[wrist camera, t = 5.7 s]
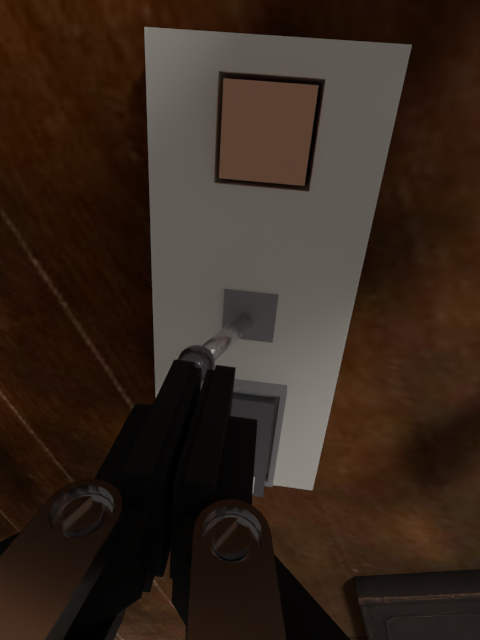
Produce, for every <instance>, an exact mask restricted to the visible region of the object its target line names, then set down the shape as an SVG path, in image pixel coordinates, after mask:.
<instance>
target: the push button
mask: <svg viewBox="0 0 480 640" xmlns="http://www.w3.org/2000/svg"><path fill="white" fill-rule="evenodd" d="M318 87H319V85H308V84H295V83H281V82H268V81H254V80H241V79H227V78H223V99H222V121H221V143H220V165H219V178H222V179H233V180H245V181H256V182H267V183H278V184H289V185H300V186H305V179H306V172H307V165H308V158H309V151H310V144H311V137H312V129H313V122H314V115H315V108H316V101H317V94H318Z"/></svg>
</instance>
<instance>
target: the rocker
mask: <svg viewBox="0 0 480 640" xmlns="http://www.w3.org/2000/svg"><path fill="white" fill-rule="evenodd" d="M274 406H275V398H274V397H266V396H258V395H250V394H242V393H234V392H233V397H232V406H231V415H230V416H235V417H243V418H250V419H257V436H256V450H255V464H254V478H253V492H252V496H258V497H263V493H264V485H265V477H266V469H267V462H268V454H269V446H270V438H271V430H272V422H273V414H274Z"/></svg>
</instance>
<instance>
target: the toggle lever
mask: <svg viewBox="0 0 480 640" xmlns="http://www.w3.org/2000/svg"><path fill="white" fill-rule="evenodd" d="M253 323H254V318H253V316H252V315H251V314H250V313H247V312H244V313H241V314H240V315H238V316H237V317H236V318H235V319H234V320H232V321H231V322H230V323H229V324H228V325H226V326H225V327H224V328H223V329H221V330H220V331H219V332H218V333H217V334H215V335H214V336H213V337H212V338H211V339H209V340H208V341H207V342H206V343H204V344H203V345H202V346H201V345H192V346H189V347H187V348H185V349H184V350H183V351H182V352H181V353H180V355H179V357H178V360H184V361H191V362H195V367H196V368H202V377H201V382H203V381H204V378H205V375H206V372H207V369H211V370H214V368H215V360H216V359H217V358H218V357H219V356H221V355H222V354H223V353H224V352H225V351H226V350H227V349H228V348H229V347H230V346H231V345H232V344H233V343H234V342H236V341H237V340H238V339H239V338H240V337H241V336H242V335H243V334H244V333H245V332H246V331H247V330H248V329H249V328H251V327H252V325H253Z"/></svg>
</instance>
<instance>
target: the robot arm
mask: <svg viewBox="0 0 480 640" xmlns="http://www.w3.org/2000/svg"><path fill="white" fill-rule="evenodd" d="M235 371H236V367H229V366H221V365H216V366H215V370H211V369H207V372H206V375H205V378H204V382H203V385H202V388H201V377H202V368H196V367H195V362H191V361H184V360H177V359H175V360H174V361H173V363H172V365H171V367H170V369H169V371H168V374H167V376H166V378H165V380H164V382H163V384H162V386H161V388H160V390H159V393H158V395H157V397H156V399H155V401H154V403H153V405H149V404H141V403H137V404H135V406H134V407H133V409H132V411H131V413H130V414H129V416H128V418H127V420H126V422H125V424H124V425H123V427H122V429H121V431H120V433H119V435H118V437H117V438H116V440H115V442H114V444H113V446H112V448H111V449H110V451H109V453H108V455H107V457H106V459H105V461H104V462H103V464H102V466H101V468H100V470H99V472H98V473H97V475H96V477H95V479H87V480H80V481H77V482H74V483H71V484H68V485H66V486H65V487H63V488H61V489H60V490H58V491H57V492H56V493H55V494H53V495H52V496H51V497H50V498H49V499H48V500H47V501H46V503H45V504H44V505H43V506H42V507H41V509H40V510H39V511H38V512H37V513H36V515H35V516H34V517H33V518H32V519H31V521H30V522H29V523H28V524H27V525H26V527H25V528H24V529H23V530H22V531H21V532H19V533H17V534H15V535H13V536H11V537H9V538H7V539H5V540H3V541H1V542H0V640H114V638H115V636H116V633H117V631H118V629H119V627H120V625H121V623H122V620H123V617H124V614H125V611H126V608H127V607H128V606H130V605H131V604H132V603H134V602H135V601H137V600H138V599H140V598H141V596H142V592H143V591H144V592H150V590H151V587H152V583H153V580H154V576H158V577H163V575H164V572H165V568H166V564H167V561H168V557H169V553H170V549H171V556H170V578H171V579H173V587H172V604H173V605H174V607H175V609H176V610H177V612H178V613H179V615H180V617H181V618H182V620H183V622H184V623H185V625H186V636H185V640H350V639H349V638H348V637H347V636H346V634H345V633H344V632H343V631H342V630H341V629H340V628H339V627H338V625H337V624H336V623H335V622H334V621H333V620H332V619H331V618H330V616H329V615H328V614H327V613H326V612H325V611H324V610H323V609H322V607H321V606H320V605H319V604H318V603H317V602H316V601H315V600H314V598H313V597H312V596H311V595H310V594H309V593H308V592H307V591H306V589H305V588H304V587H303V586H302V585H301V584H300V583H299V582H298V580H297V579H296V578H295V577H294V576H293V575H292V574H291V573H290V571H289V570H288V569H287V568H286V567H285V566H284V565H283V564H282V562H281V561H280V560H279V559H278V558H277V557H276V556H275V555H274V551H273V544H272V537H271V531H270V528H269V525H268V522H267V520H266V519H265V517H264V516H263V515H262V513H261V512H260V511H259V510H257V509H256V508H255V507H254V506H252V492H253V478H254V464H255V450H256V436H257V419H250V418H243V417H235V416H230V415H231V406H232V397H233V389H234V380H235Z"/></svg>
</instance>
